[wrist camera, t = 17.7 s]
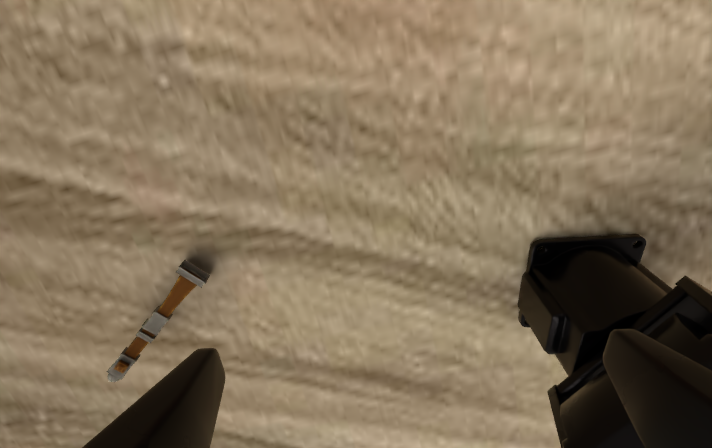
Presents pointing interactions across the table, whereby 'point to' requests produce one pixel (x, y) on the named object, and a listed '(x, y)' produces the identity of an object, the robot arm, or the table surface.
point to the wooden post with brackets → (158, 318)
